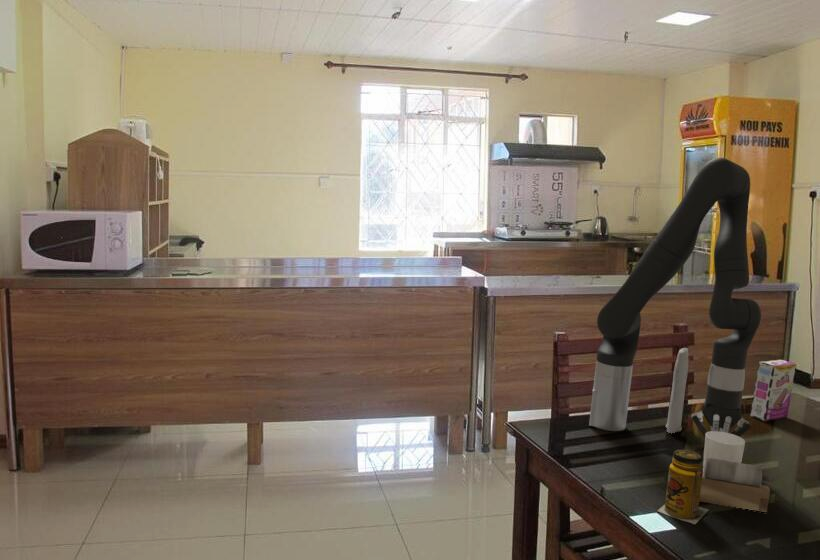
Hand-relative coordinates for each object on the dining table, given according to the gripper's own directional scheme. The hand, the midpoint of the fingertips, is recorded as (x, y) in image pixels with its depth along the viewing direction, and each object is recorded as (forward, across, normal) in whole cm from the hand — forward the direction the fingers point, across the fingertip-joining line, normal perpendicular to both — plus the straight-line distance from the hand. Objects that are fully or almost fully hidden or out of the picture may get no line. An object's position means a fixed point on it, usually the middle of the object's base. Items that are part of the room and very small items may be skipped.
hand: (715, 457), depth 159 cm
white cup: (+2, 0, -9) cm, 9 cm away
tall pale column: (+2, -7, +23) cm, 24 cm away
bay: (+2, 0, -14) cm, 14 cm away
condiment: (+2, -10, -28) cm, 30 cm away
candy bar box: (+2, +21, +48) cm, 52 cm away
